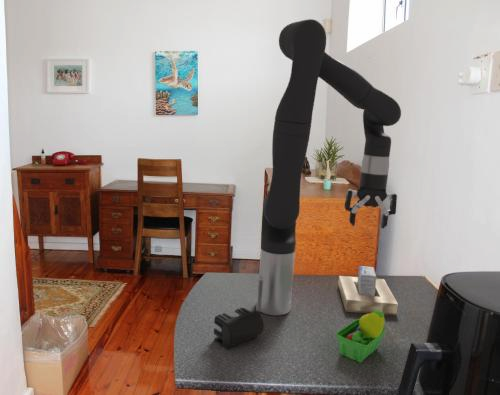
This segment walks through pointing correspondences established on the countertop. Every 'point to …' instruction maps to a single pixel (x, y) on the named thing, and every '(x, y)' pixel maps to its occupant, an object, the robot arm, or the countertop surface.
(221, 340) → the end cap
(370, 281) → the medicine box
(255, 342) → the countertop surface
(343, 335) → the fruit basket
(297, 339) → the countertop surface
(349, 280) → the thick beige rectangular frame
